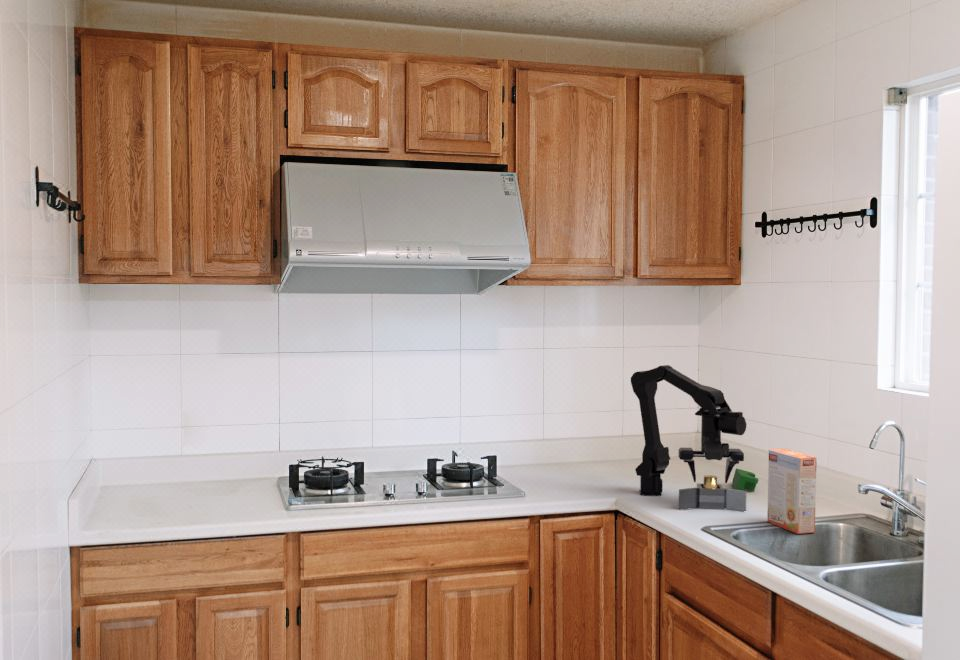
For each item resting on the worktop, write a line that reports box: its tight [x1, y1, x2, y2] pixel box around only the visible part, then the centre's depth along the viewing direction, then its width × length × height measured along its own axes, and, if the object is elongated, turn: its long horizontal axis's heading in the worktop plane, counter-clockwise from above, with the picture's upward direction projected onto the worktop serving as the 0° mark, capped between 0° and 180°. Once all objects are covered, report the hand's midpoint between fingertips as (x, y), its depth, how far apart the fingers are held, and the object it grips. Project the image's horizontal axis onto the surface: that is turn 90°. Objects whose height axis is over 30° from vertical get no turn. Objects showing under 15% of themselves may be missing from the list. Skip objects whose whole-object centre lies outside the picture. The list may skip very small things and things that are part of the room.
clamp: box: [731, 468, 759, 492], centre depth 295 cm, size 12×6×9 cm, turn 165°
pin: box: [703, 474, 718, 489], centre depth 272 cm, size 4×4×9 cm
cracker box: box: [766, 448, 817, 535], centre depth 248 cm, size 14×6×21 cm, turn 17°
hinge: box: [678, 482, 748, 512], centre depth 271 cm, size 20×10×6 cm, turn 83°
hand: (710, 482), depth 272 cm, fingers open, 9 cm apart
